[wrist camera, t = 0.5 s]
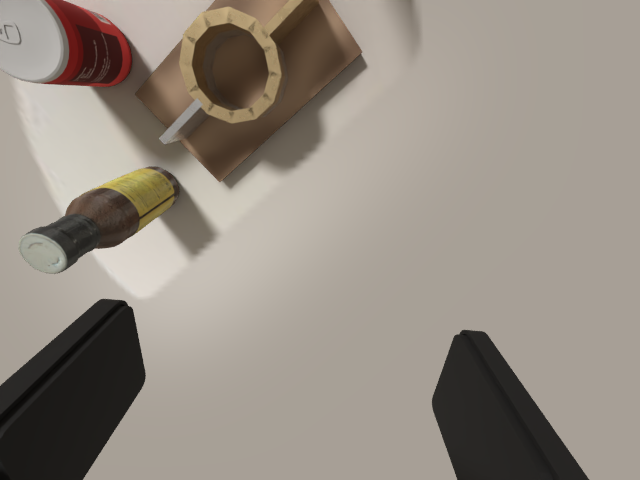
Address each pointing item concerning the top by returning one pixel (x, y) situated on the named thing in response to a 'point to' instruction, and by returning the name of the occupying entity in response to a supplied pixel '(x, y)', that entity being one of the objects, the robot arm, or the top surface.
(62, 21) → the canned food
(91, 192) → the sauce bottle
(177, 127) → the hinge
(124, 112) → the top surface
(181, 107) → the walnut board
